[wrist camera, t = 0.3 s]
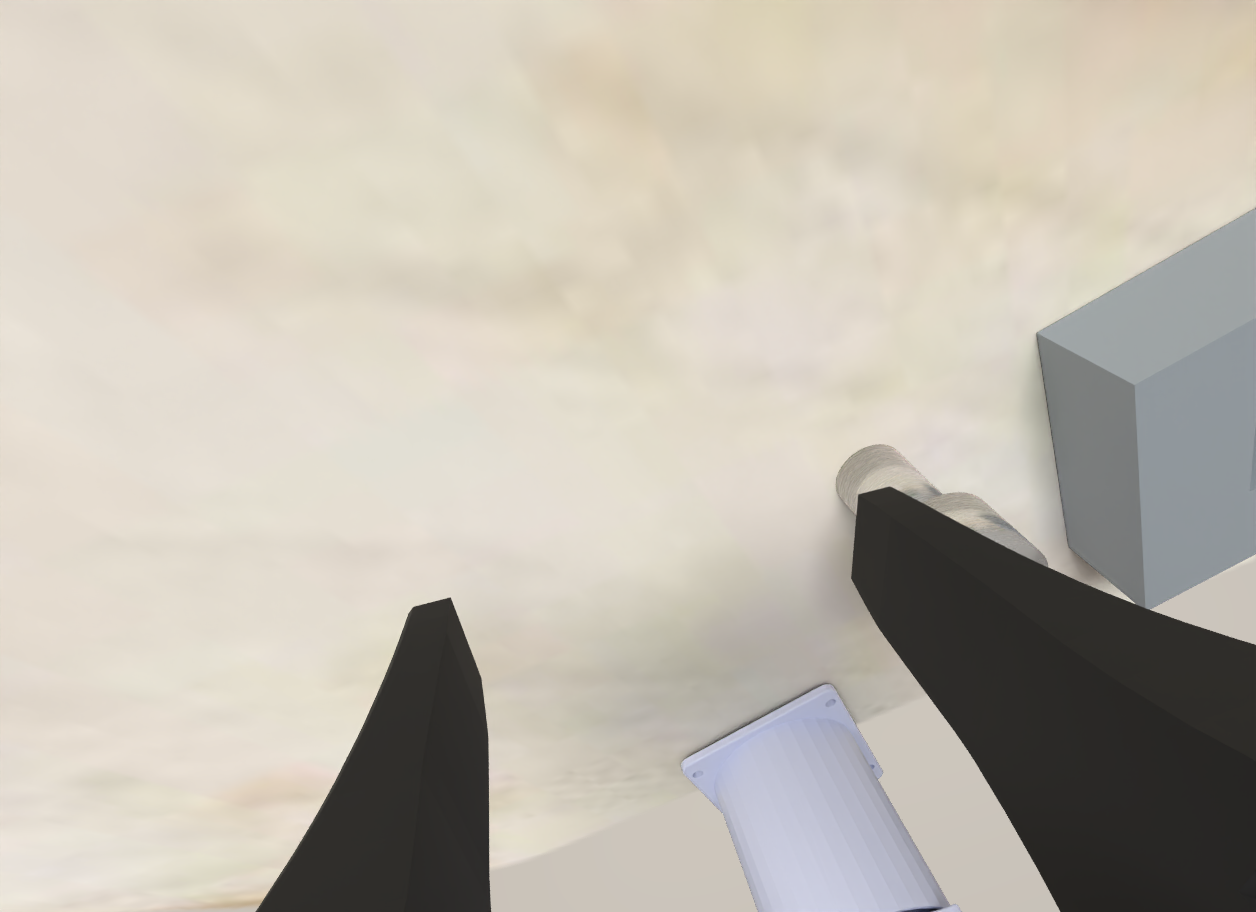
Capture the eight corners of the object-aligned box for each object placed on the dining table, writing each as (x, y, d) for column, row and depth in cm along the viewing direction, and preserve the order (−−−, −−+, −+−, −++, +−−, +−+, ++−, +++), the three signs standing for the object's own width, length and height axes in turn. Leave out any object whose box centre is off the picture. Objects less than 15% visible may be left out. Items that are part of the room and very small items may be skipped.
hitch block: (1326, 408, 29) (1439, 458, 26) (1068, 546, 30) (1145, 611, 27) (1372, 141, 22) (1532, 163, 19) (1037, 332, 23) (1134, 385, 20)
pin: (929, 483, 26) (1060, 608, 21) (836, 535, 26) (940, 672, 21) (905, 407, 24) (1045, 525, 18) (803, 465, 24) (911, 598, 19)
